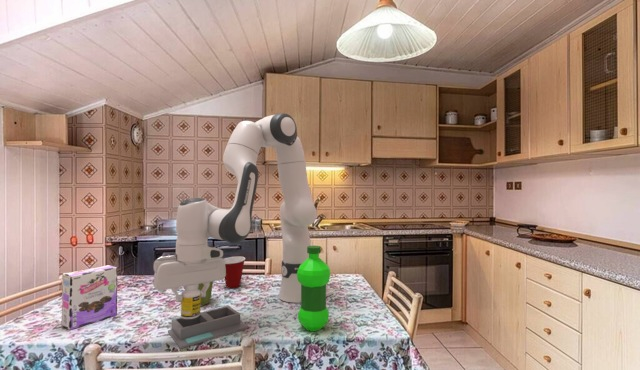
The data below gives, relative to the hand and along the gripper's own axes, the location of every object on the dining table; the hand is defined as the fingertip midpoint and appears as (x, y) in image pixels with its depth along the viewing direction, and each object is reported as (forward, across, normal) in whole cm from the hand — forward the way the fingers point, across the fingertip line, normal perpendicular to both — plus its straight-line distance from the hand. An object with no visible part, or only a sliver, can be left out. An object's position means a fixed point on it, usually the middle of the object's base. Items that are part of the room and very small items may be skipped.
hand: (191, 299), depth 98 cm
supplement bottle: (+5, 0, 0) cm, 5 cm away
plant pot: (+10, +11, +23) cm, 27 cm away
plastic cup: (+10, +29, +34) cm, 45 cm away
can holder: (+10, +5, -2) cm, 11 cm away
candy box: (+10, -22, +29) cm, 38 cm away
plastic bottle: (+10, +31, -20) cm, 38 cm away
